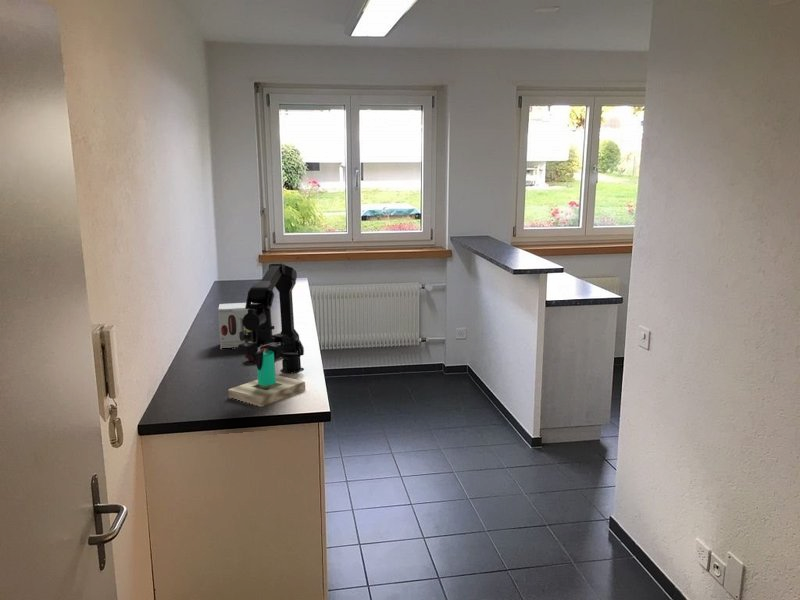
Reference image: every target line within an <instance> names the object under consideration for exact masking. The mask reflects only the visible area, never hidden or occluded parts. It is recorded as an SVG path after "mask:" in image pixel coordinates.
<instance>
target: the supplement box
mask: <svg viewBox="0 0 800 600" xmlns="http://www.w3.org/2000/svg"><path fill="white" fill-rule="evenodd" d="M251 304H252V302H251ZM245 307H246V302H234V303H233V302H232V303H231V302H230V303H219V304H218V309H217V313H218V317H217V318H218V329H219V347H220V348H219V349H220V350H223V349H222V348H231V347H238V345H239V344H243V343H245V341H241V340H240V337H239V332H241V331H245V330H246V331H247V332H251V331H250V330H247V329H246V328H245V327H244V325H243V322H242V320H243V318H244V316H245V315H246V314H248V309H246V308H245ZM248 343H253V342H251V341H249V342H248Z"/></svg>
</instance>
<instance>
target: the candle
mask: <svg viewBox="0 0 800 600" xmlns="http://www.w3.org/2000/svg"><path fill="white" fill-rule="evenodd" d="M275 363H276V362H275ZM275 363H274V352H273V351H265V349H264V352H263V362H262V367H261V370H258V368H257V367H256V371H257V374H256V375H257V380H258V384H259V385H264V386H266V385H272V384H274V383H276V378H275V375H276V369H275V368H276V366H275Z"/></svg>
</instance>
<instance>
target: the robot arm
mask: <svg viewBox="0 0 800 600" xmlns="http://www.w3.org/2000/svg"><path fill="white" fill-rule="evenodd" d="M297 276H298V273H297V271H296V270H295V269H294V267H291V266H288V265H286V264H285V263H282V262H272V263H269V264H268V269H267V271H266V272H265V274H264V275H263V277H262V278H261V279H260V281H259V282H257V283H254V284H253V285H252V286H251V287H250V288H249V290H248V292H247V297H246V302H245V303H246V307H245V308H246V309H248V314H246V315H245V316H244V318H243V320H242V322H243V325H244V327H245V328H246V329H247V330H250V331H251V332H247V331H246V330H245V331H241V332H239V337H240V340H241V341H245V343H243V344H239V345H238V347H237V348H236V349H237V352H236V353H237V354H240V355H251V356H252V358H253V360H254V362H253V363H255V366H256V369H257V368H258V370H261V367H262V362H263V352H260V348H262V347H265V346H266V347H267V349H268V350H269V351H273V352H274V363H276V362H277V359H278V358H277V357H278V355H279V356H282V357H281V358H282V360H281V362H282V364H281V365H282V368H281V369H280V370H279V371H280V372H284V373H288V374H295V373H297V372H300V371H303V370H304V369H305V368H304V367H302V365H301V364H302V363H301V356H304V354H305V348H304V345H303V344H302V341H301V339H300V335H299V334H298V331H297V330H296V329H295V322H294V319H295V318H294V306H293V305H294V304H293V303H294V302H293V289H294V287H295V285H296V283H297ZM274 288H275V289H276V290H277V291H278V297H279V308H280V309H279V310H280V327H281V328H280V329H281V331H280V332H278V333H276V334H273V330H274V329H275V326H274V325H273V324H272V323H273V322H272V312H271V311H272V309H271V308H272V306H273V301H274V297H275V293H274ZM251 302H252V304H251ZM249 341H251V342H256V343H255V344H253V343H248V342H249ZM260 344H262V345H260Z"/></svg>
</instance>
